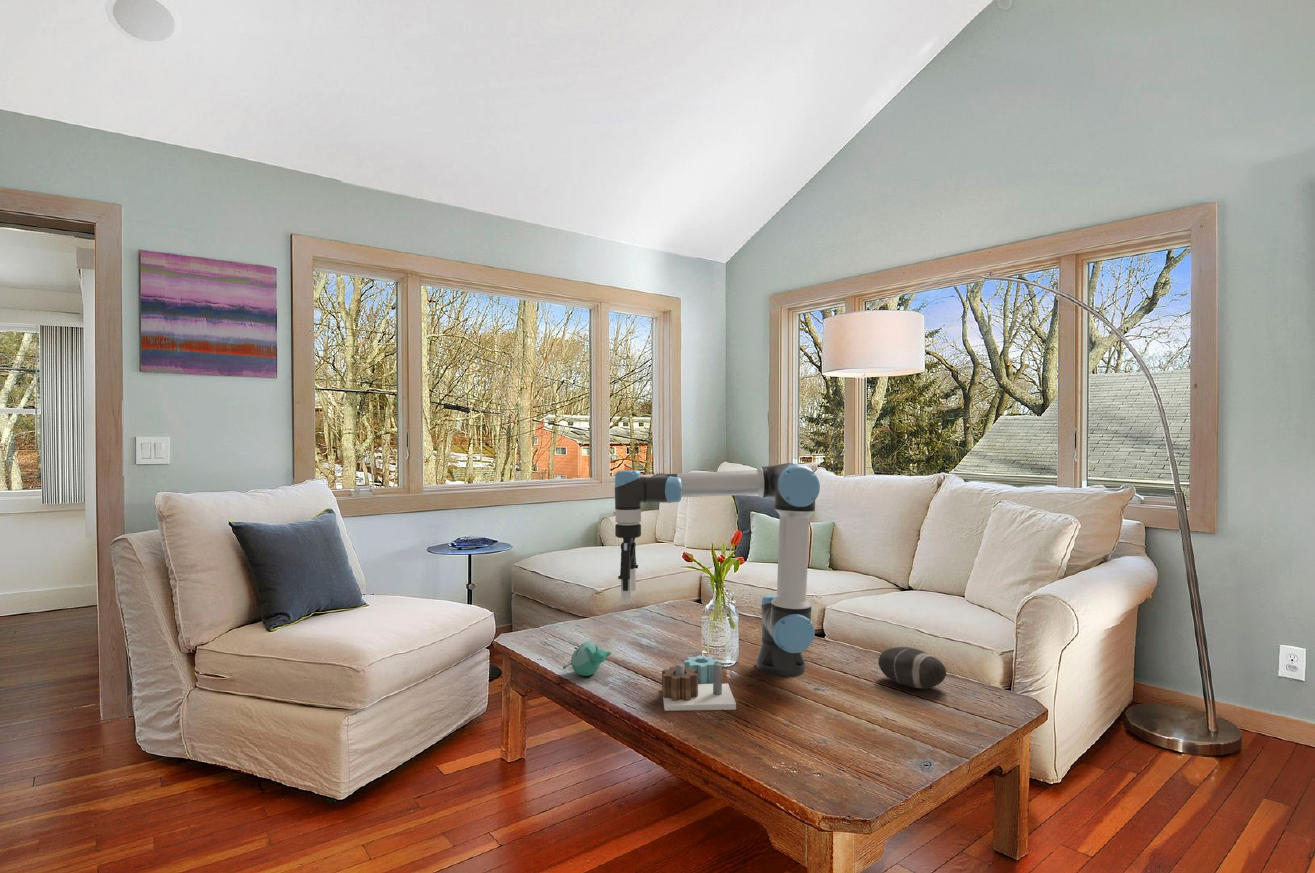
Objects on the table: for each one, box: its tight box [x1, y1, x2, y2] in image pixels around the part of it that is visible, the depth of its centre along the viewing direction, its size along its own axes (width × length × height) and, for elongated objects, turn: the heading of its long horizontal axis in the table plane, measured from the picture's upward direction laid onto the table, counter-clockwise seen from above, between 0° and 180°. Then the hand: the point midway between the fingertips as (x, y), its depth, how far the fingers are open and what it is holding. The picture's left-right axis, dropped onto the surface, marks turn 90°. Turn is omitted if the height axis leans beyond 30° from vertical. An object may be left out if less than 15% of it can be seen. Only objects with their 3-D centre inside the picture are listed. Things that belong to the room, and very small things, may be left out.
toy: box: [562, 640, 612, 677], centre depth 210 cm, size 10×10×15 cm
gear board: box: [662, 662, 737, 712], centre depth 190 cm, size 19×15×10 cm
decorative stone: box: [877, 646, 947, 689], centre depth 201 cm, size 19×14×10 cm
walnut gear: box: [661, 666, 698, 701], centre depth 190 cm, size 10×10×6 cm
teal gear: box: [683, 655, 719, 684], centre depth 204 cm, size 10×10×6 cm
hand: (628, 596), depth 201 cm, fingers open, 13 cm apart
